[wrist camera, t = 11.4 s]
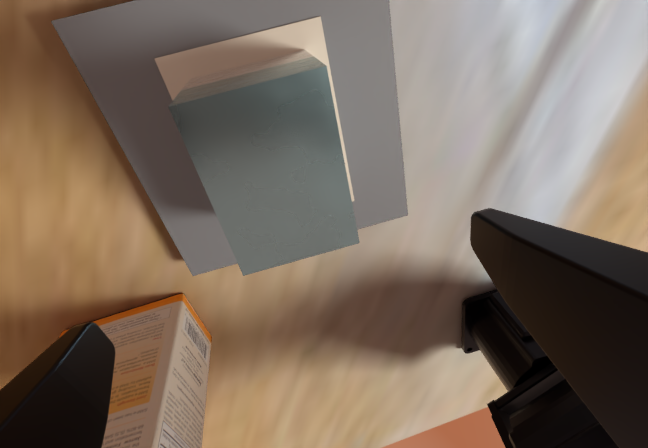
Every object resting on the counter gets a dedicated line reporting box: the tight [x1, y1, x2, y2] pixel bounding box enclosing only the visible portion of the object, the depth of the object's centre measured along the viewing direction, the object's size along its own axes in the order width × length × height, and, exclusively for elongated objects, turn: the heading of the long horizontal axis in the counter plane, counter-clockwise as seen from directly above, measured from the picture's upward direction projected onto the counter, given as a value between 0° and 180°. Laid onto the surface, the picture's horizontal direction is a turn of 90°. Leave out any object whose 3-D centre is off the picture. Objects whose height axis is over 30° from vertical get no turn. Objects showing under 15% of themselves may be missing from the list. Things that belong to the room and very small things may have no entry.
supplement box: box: [59, 293, 212, 448], centre depth 18 cm, size 8×5×13 cm, turn 103°
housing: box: [168, 50, 359, 276], centre depth 15 cm, size 5×7×5 cm
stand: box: [51, 0, 408, 276], centre depth 18 cm, size 13×13×2 cm
